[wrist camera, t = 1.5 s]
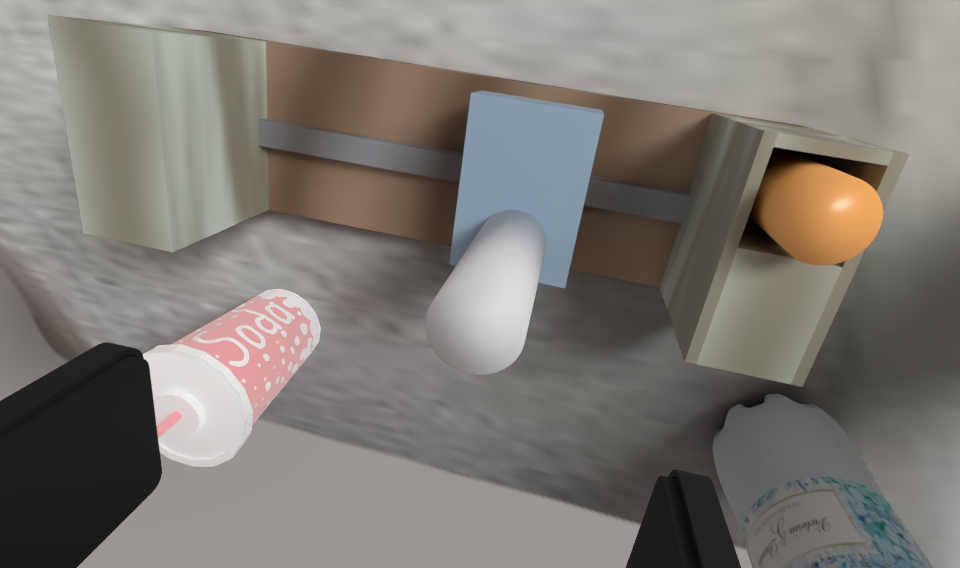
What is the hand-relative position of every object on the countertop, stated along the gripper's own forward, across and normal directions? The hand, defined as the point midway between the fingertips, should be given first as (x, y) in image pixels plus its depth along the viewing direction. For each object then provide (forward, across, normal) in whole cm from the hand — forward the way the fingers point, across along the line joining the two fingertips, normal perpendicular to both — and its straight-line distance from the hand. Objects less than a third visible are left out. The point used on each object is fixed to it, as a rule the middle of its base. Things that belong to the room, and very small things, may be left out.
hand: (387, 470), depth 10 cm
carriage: (+16, -1, -2) cm, 16 cm away
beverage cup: (+19, +12, +9) cm, 25 cm away
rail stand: (+19, +2, -2) cm, 19 cm away
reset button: (+13, -10, -4) cm, 16 cm away
